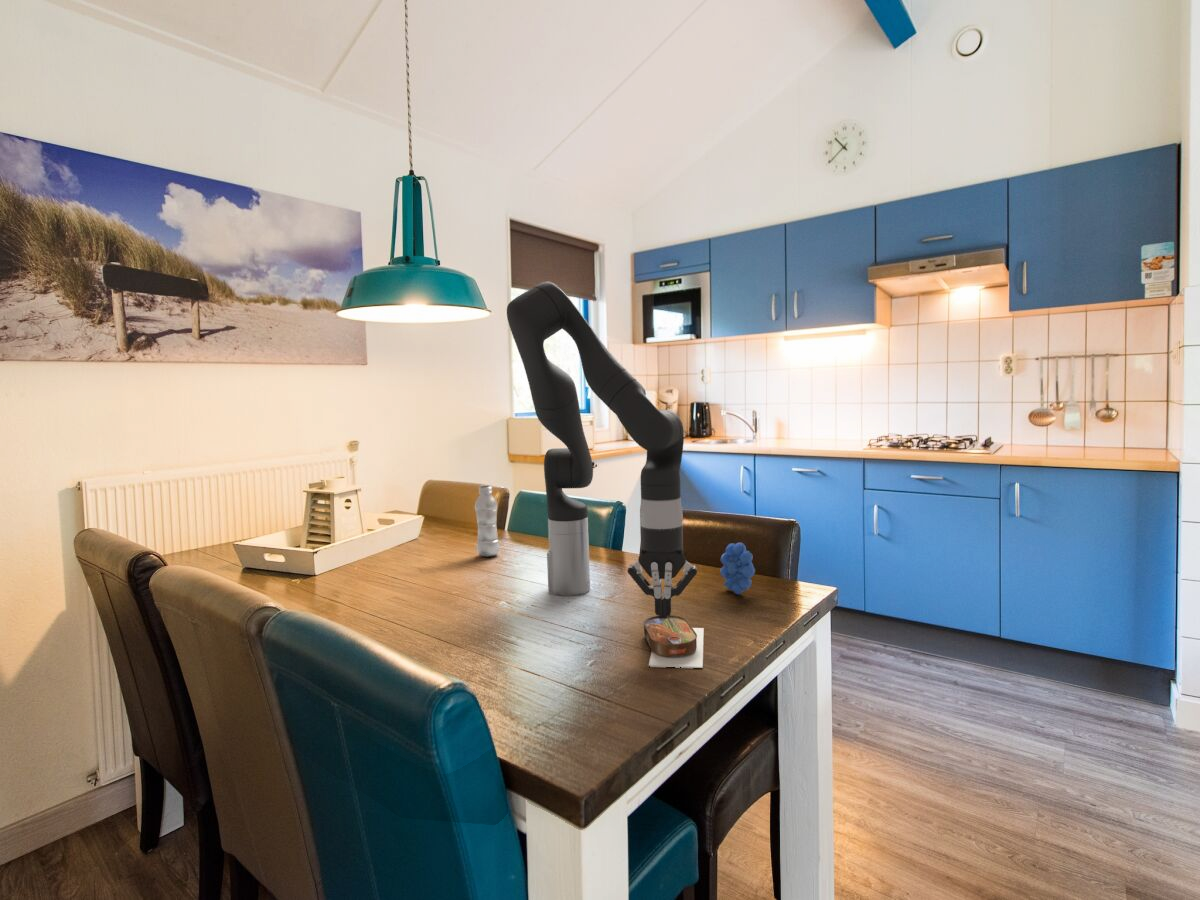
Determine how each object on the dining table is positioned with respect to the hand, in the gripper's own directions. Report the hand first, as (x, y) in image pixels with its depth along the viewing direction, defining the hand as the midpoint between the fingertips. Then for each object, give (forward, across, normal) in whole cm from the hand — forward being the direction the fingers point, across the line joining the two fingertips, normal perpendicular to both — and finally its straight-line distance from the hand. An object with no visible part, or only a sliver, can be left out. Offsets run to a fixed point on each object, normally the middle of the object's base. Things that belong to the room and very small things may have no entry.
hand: (663, 617), depth 122 cm
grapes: (+6, +15, +32) cm, 36 cm away
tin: (+4, -3, 0) cm, 5 cm away
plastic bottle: (+6, -54, +62) cm, 82 cm away
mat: (+6, +2, 0) cm, 6 cm away
